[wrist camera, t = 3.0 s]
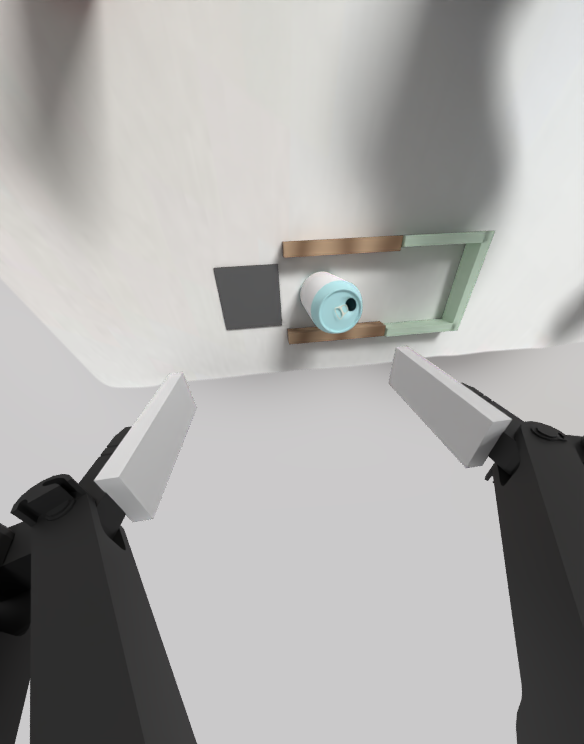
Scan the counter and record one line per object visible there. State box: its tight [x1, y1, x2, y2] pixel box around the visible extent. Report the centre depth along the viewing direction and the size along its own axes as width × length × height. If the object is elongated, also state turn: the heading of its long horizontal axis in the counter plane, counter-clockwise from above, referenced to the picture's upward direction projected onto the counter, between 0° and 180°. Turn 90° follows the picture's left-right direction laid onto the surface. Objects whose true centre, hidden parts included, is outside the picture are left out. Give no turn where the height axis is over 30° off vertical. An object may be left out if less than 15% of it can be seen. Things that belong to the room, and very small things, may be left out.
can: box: [300, 272, 362, 334], centre depth 32 cm, size 7×7×12 cm
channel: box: [282, 235, 403, 344], centre depth 36 cm, size 18×16×2 cm
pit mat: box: [214, 264, 282, 329], centre depth 36 cm, size 10×10×1 cm
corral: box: [384, 231, 495, 337], centre depth 37 cm, size 14×16×3 cm
